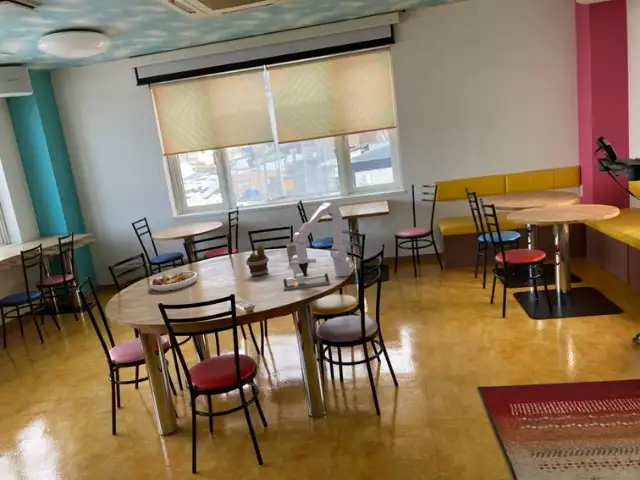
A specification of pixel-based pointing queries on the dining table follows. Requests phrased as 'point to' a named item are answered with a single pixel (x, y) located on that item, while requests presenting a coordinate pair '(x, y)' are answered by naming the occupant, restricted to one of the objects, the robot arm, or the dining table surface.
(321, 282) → the cord board
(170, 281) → the bowl
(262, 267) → the flowerpot
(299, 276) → the sleeve
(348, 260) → the robot arm
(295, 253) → the pillar candle
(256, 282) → the dining table surface
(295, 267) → the supplement box
